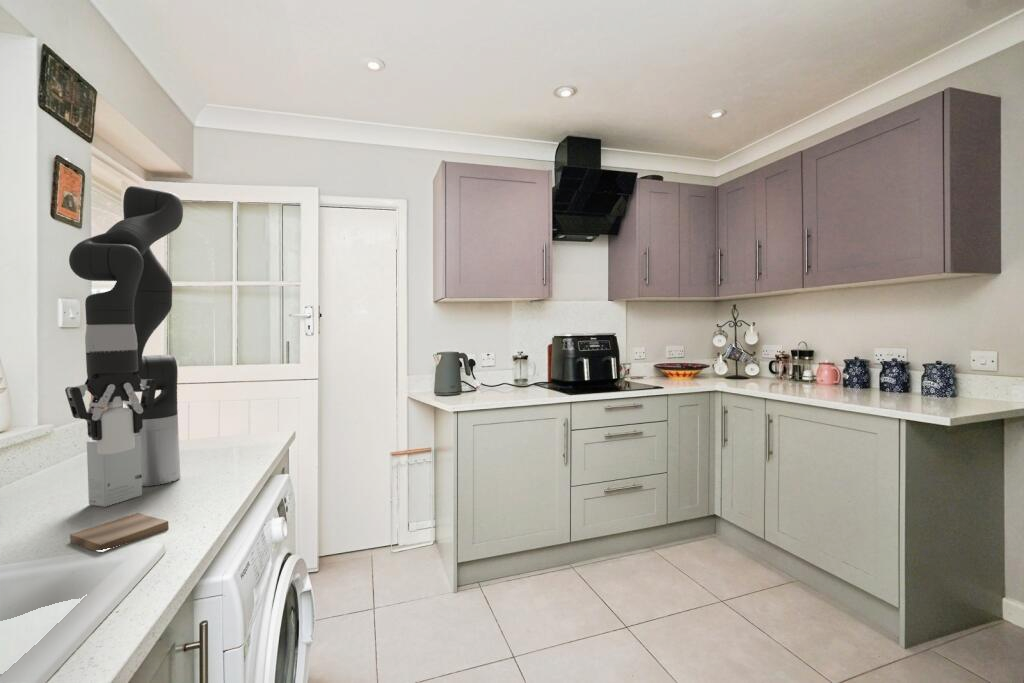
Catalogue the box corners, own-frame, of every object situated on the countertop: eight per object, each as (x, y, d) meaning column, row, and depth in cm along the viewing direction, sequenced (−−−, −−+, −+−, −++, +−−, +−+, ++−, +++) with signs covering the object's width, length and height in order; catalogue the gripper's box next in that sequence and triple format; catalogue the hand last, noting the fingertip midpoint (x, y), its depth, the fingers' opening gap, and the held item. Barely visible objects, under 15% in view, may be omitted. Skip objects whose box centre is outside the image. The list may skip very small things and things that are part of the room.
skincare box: (105, 508, 104) (102, 442, 104) (87, 505, 106) (84, 440, 106) (144, 494, 112) (141, 433, 112) (127, 492, 114) (124, 432, 114)
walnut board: (70, 542, 87) (69, 534, 87) (138, 519, 97) (137, 512, 97) (100, 553, 83) (100, 544, 83) (168, 528, 92) (168, 521, 92)
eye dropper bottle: (95, 452, 89) (92, 390, 88) (133, 446, 93) (130, 386, 93) (99, 456, 86) (95, 392, 86) (137, 450, 90) (134, 388, 90)
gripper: (144, 346, 97) (147, 427, 98) (53, 350, 84) (58, 443, 85) (165, 346, 94) (168, 430, 94) (73, 350, 81) (78, 447, 81)
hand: (116, 435), depth 89 cm, fingers closed on eye dropper bottle, 5 cm apart
